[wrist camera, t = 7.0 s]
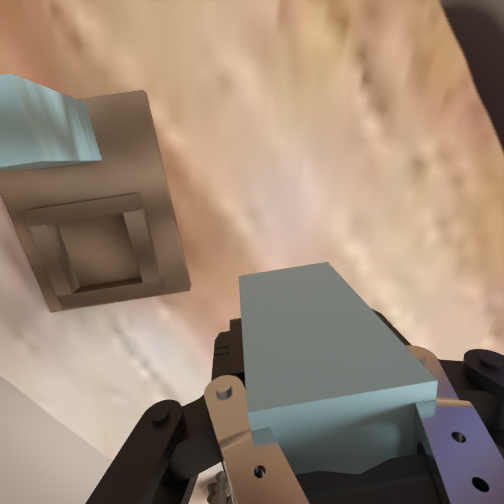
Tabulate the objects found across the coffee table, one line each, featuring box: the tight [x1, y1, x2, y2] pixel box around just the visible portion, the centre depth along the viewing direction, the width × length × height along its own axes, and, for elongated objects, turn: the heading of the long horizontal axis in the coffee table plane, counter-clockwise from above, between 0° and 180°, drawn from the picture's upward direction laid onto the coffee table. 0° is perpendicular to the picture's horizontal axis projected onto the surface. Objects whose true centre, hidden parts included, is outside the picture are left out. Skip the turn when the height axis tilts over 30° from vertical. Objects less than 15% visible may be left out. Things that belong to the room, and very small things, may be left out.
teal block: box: [239, 262, 438, 475], centre depth 11 cm, size 4×4×8 cm
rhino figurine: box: [207, 471, 233, 504], centre depth 36 cm, size 4×14×6 cm, turn 96°
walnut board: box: [0, 74, 191, 312], centre depth 22 cm, size 18×14×9 cm
